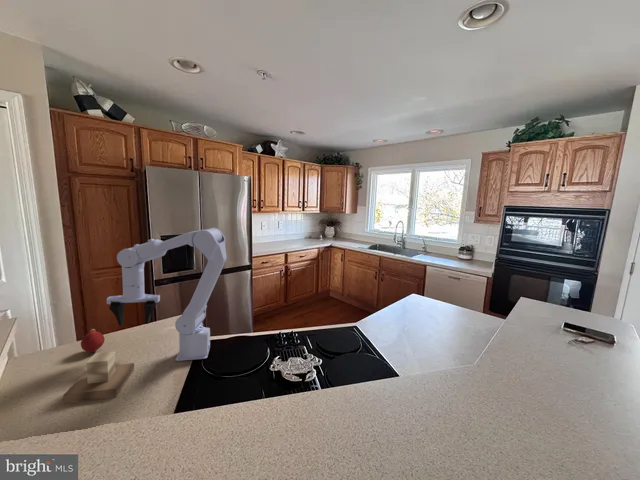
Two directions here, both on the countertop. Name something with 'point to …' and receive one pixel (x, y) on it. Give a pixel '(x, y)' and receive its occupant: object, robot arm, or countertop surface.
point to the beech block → (101, 367)
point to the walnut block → (99, 386)
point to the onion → (92, 341)
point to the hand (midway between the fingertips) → (134, 323)
